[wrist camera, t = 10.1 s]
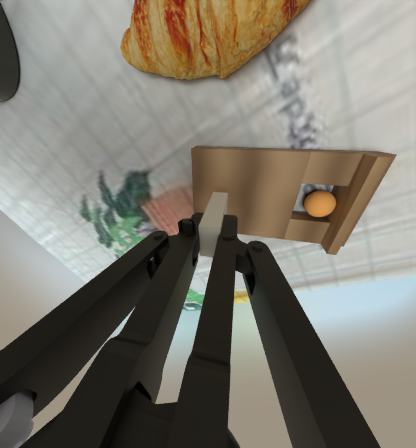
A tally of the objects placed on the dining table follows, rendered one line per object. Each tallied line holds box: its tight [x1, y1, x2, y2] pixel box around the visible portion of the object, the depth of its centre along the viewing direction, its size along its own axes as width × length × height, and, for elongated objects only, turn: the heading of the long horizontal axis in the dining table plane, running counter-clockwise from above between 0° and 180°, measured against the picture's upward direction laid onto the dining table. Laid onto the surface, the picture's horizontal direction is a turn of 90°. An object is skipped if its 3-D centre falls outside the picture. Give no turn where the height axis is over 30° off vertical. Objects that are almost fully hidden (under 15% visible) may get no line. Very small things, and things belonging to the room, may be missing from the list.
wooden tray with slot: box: [191, 146, 396, 255], centre depth 20 cm, size 20×11×4 cm, turn 89°
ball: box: [304, 191, 336, 217], centre depth 19 cm, size 3×3×3 cm
